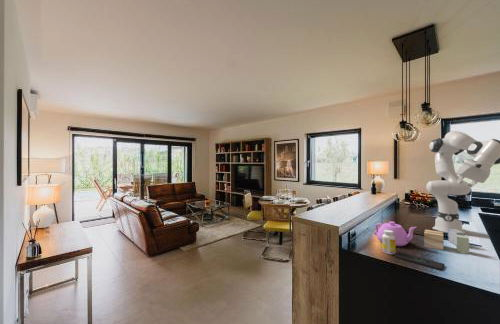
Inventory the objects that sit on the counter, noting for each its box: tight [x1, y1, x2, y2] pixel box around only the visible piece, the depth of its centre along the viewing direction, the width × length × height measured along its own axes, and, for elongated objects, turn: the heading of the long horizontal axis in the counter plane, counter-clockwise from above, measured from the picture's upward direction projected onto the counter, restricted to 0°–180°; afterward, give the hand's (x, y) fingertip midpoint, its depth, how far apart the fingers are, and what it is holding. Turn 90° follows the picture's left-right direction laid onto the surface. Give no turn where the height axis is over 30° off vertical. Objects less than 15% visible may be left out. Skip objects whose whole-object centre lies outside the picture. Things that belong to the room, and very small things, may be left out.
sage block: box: [456, 235, 470, 255], centre depth 128 cm, size 5×5×9 cm
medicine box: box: [447, 229, 466, 246], centre depth 139 cm, size 8×4×9 cm, turn 168°
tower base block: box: [423, 239, 444, 251], centre depth 136 cm, size 9×9×4 cm
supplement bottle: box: [381, 230, 397, 255], centre depth 128 cm, size 7×7×13 cm
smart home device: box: [394, 251, 445, 272], centre depth 116 cm, size 8×2×20 cm
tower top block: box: [423, 229, 444, 244], centre depth 136 cm, size 9×9×4 cm
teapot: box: [374, 220, 417, 247], centre depth 143 cm, size 25×18×14 cm
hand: (463, 184), depth 133 cm, fingers open, 8 cm apart
